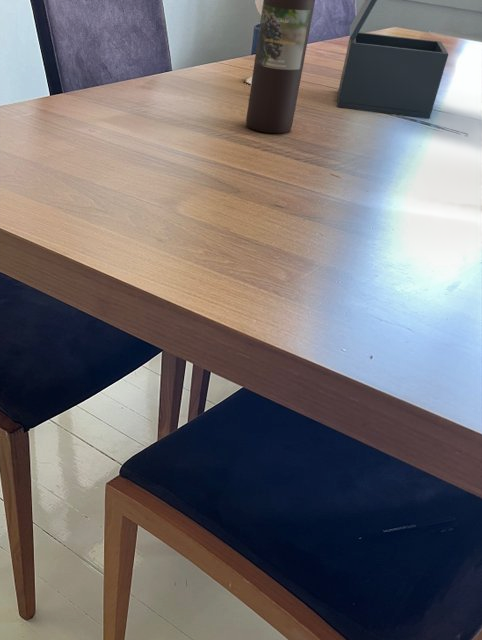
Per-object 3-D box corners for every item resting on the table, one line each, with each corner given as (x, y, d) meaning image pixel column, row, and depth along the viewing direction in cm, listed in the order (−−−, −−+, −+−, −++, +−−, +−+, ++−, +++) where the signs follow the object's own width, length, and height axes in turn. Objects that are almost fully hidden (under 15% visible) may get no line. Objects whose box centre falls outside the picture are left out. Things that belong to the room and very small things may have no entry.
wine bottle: (236, 126, 111) (271, -124, 93) (261, 119, 116) (299, -121, 97) (275, 137, 108) (319, -120, 89) (299, 129, 112) (346, -117, 94)
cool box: (424, 102, 133) (441, 41, 127) (429, 118, 124) (448, 54, 118) (338, 91, 135) (351, 31, 129) (337, 106, 126) (351, 42, 120)
